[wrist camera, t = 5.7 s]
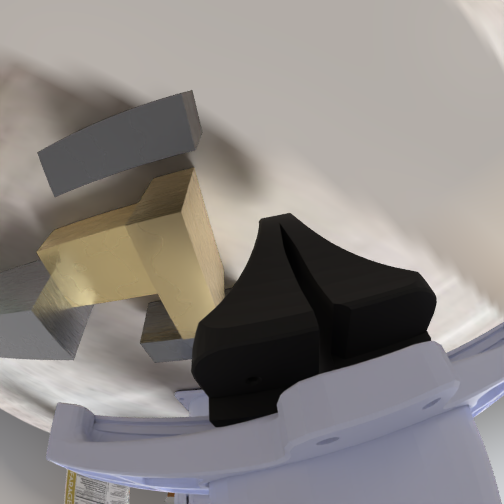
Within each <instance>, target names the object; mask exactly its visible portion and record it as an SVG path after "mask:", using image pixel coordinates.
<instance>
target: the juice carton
mask: <svg viewBox="0 0 504 504" xmlns="http://www.w3.org/2000/svg"><path fill="white" fill-rule="evenodd" d="M129 488H130V487H128V486H123V485H118V484H113V483H108V482H104V481H99V480H95V479H91V478H88V477H85V476H83V475H80V474H78V473H75V472H73V471H70V470H68V469H67V475H66V485H65V498H64V504H129Z"/></svg>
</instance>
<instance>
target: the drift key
mask: <svg viewBox="0 0 504 504" xmlns="http://www.w3.org/2000/svg"><path fill="white" fill-rule="evenodd" d="M37 254H38V256H39V258H40V259H41V261H42V263H43V264H44V266H45V268H46V269H47V271H48V272H49V274H50V276H51V277H52V279H53V280H54V282H55V283H56V285H57V286H58V288H59V289H60V291H61V292H62V294H63V295H64V297H65V298H66V300H67V301H68V302H69V304H70V305H71V307H79V306H86V305H92V304H98V303H105V302H111V301H117V300H123V299H129V298H135V297H141V296H147V295H153V294H158V295H159V297H160V299H161V301H162V303H163V305H164V307H165V308H166V310H167V312H168V314H169V316H170V318H171V319H172V321H173V323H174V325H175V326H176V328H177V330H178V332H179V333H180V335H181V337H182V338H183V339H191V338H195V333H196V330H197V326H198V323H199V322H200V321H201V320H202V319H203V318H204V317H206V316H207V315H208V314H209V313H210V312H211V311H212V310H213V309H214V308H215V307H216V306H217V305H218V304H219V303H220V302H221V301H222V300H223V299H224V297H225V294H224V268H223V265H222V262H221V259H220V255H219V252H218V249H217V245H216V242H215V239H214V235H213V232H212V229H211V225H210V222H209V218H208V215H207V211H206V208H205V204H204V201H203V197H202V194H201V190H200V187H199V183H198V179H197V176H196V172H195V169H194V168H190V169H186V170H182V171H178V172H174V173H171V174H167V175H163V176H160V177H156V178H153V180H152V181H151V183H150V185H149V186H148V188H147V190H146V191H145V193H144V194H143V196H142V198H141V199H140V201H139V203H136V204H133V205H129V206H126V207H123V208H119V209H116V210H113V211H109V212H106V213H103V214H100V215H97V216H94V217H90V218H87V219H84V220H81V221H78V222H75V223H73V224H70V225H67V226H64V227H61V228H58V229H56V230H54V231H53V232H52V233H51V234H50V236H49V237H48V238H47V239H46V241H45V242H44V243H43V244H42V246H41V247H40V248H39V249H38V251H37Z"/></svg>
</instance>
